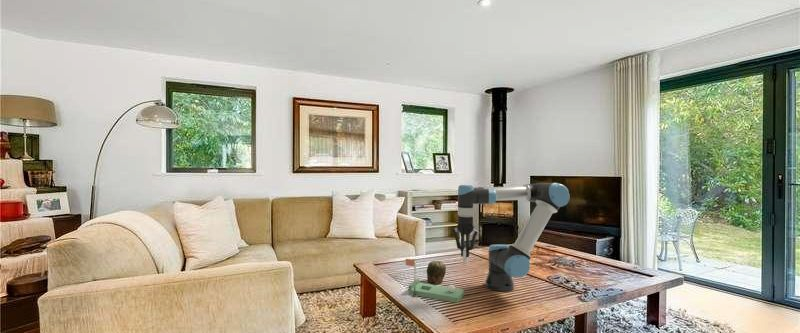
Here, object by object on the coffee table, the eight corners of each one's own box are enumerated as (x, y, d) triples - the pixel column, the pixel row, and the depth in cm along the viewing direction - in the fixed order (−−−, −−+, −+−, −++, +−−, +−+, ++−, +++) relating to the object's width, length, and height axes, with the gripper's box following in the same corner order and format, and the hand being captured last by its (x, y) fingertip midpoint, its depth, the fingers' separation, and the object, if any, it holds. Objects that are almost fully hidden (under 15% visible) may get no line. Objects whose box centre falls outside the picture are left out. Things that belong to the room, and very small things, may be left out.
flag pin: (417, 295, 168) (418, 259, 169) (416, 297, 166) (416, 260, 166) (406, 293, 171) (406, 257, 171) (404, 295, 169) (404, 259, 169)
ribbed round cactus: (445, 286, 183) (445, 264, 183) (425, 284, 186) (425, 263, 186) (446, 279, 194) (446, 259, 194) (427, 278, 196) (427, 258, 196)
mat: (464, 294, 171) (464, 285, 171) (458, 302, 160) (458, 293, 160) (417, 286, 182) (417, 278, 182) (408, 294, 171) (408, 285, 171)
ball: (455, 291, 168) (455, 284, 169) (453, 293, 165) (453, 286, 165) (448, 290, 170) (449, 283, 170) (446, 292, 167) (447, 285, 167)
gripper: (480, 215, 166) (479, 263, 166) (454, 214, 171) (454, 259, 171) (477, 217, 159) (476, 267, 159) (450, 215, 164) (450, 263, 164)
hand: (465, 263), depth 165 cm, fingers closed
